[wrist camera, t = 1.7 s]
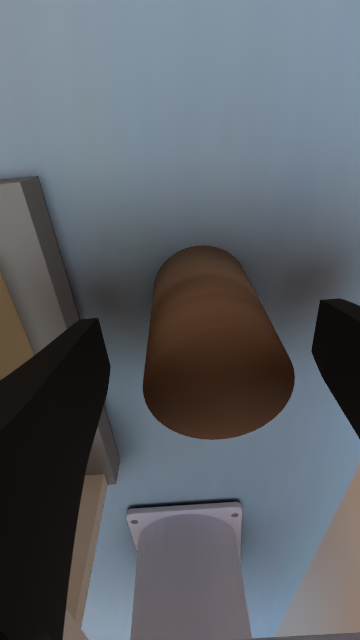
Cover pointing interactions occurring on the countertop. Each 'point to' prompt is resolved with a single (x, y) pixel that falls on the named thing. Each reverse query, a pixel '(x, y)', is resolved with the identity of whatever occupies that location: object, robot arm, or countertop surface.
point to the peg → (212, 349)
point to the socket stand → (31, 337)
